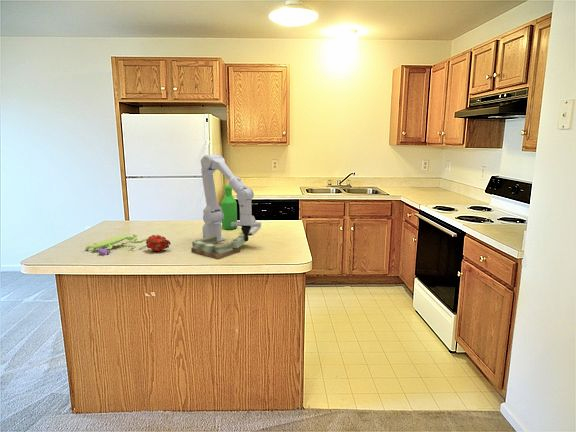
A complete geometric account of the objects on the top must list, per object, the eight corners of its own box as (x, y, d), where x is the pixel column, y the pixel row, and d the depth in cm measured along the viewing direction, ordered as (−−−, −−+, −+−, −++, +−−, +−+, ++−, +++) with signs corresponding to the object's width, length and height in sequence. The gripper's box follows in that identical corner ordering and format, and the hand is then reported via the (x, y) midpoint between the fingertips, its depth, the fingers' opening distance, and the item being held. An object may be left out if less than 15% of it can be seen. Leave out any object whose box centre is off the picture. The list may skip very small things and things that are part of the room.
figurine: (151, 249, 188) (150, 237, 187) (90, 258, 174) (89, 246, 172) (141, 240, 203) (140, 230, 202) (84, 248, 189) (83, 237, 187)
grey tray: (191, 251, 183) (190, 241, 181) (213, 244, 194) (213, 235, 192) (218, 259, 172) (217, 248, 171) (240, 251, 183) (239, 241, 182)
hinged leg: (237, 248, 180) (236, 240, 180) (231, 247, 181) (230, 240, 180) (247, 240, 194) (247, 233, 193) (242, 239, 194) (241, 233, 194)
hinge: (252, 235, 211) (246, 218, 209) (245, 238, 212) (238, 221, 211) (260, 228, 227) (254, 212, 225) (253, 230, 228) (247, 214, 227)
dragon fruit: (145, 253, 186) (170, 257, 186) (140, 247, 178) (165, 251, 178) (150, 236, 189) (175, 240, 189) (145, 230, 182) (170, 234, 181)
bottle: (240, 227, 228) (239, 185, 223) (230, 230, 221) (229, 187, 215) (228, 225, 233) (227, 184, 227) (218, 228, 225) (217, 186, 220)
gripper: (262, 212, 190) (262, 239, 193) (233, 211, 192) (234, 238, 195) (259, 215, 183) (259, 243, 186) (229, 214, 185) (230, 241, 188)
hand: (246, 240), depth 190 cm, fingers closed, pressing on hinged leg
